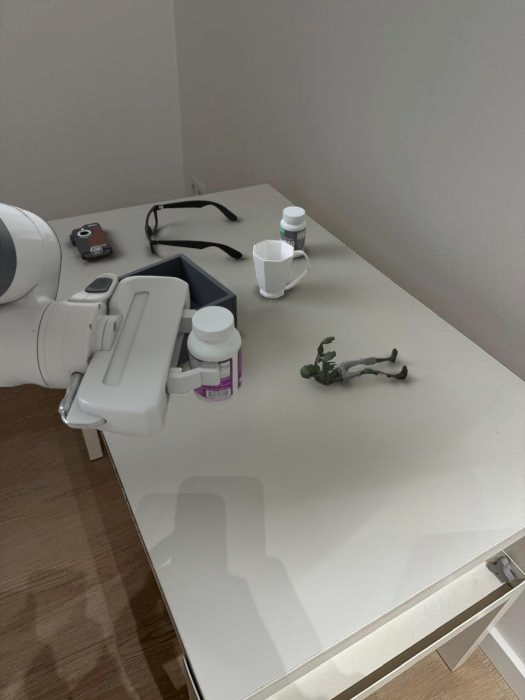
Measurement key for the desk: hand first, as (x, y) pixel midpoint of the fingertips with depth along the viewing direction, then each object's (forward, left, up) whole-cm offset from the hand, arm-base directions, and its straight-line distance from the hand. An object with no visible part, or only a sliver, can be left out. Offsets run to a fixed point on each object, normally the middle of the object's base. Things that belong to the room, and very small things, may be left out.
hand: (223, 350), depth 52 cm
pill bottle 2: (+37, +30, -17) cm, 51 cm away
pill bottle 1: (-1, 0, -6) cm, 6 cm away
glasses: (+25, +45, -17) cm, 54 cm away
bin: (+6, +24, -17) cm, 30 cm away
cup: (+27, +22, -17) cm, 39 cm away
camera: (+8, +55, -17) cm, 58 cm away
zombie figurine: (+21, 0, -17) cm, 27 cm away
